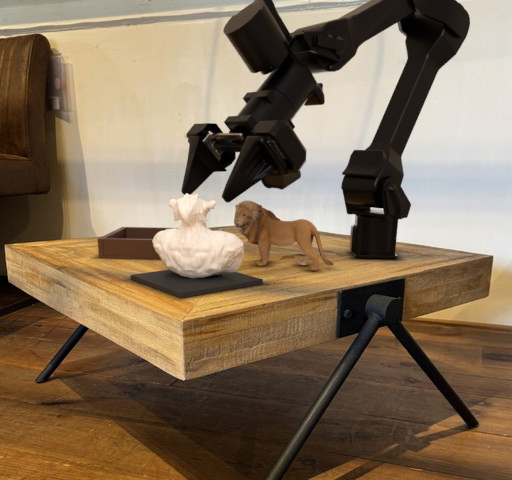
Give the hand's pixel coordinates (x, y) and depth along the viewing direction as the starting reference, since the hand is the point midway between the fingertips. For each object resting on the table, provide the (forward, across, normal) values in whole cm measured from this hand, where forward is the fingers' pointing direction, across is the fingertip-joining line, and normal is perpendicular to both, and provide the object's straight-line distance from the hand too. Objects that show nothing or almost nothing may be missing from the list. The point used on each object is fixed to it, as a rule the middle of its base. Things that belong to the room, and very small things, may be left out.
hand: (203, 197), depth 70 cm
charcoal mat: (+8, 0, -6) cm, 10 cm away
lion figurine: (-2, +2, -17) cm, 17 cm away
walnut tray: (+3, +22, -12) cm, 25 cm away
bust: (+8, 0, -6) cm, 10 cm away
